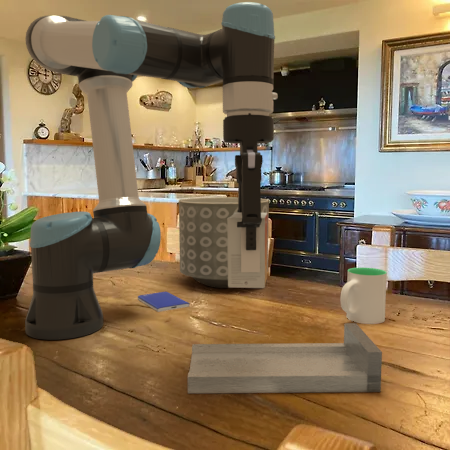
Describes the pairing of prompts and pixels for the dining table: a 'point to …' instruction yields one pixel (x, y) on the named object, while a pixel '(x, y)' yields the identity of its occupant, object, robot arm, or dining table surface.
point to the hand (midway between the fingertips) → (248, 265)
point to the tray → (288, 366)
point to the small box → (234, 255)
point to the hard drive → (162, 301)
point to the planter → (207, 238)
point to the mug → (364, 295)
